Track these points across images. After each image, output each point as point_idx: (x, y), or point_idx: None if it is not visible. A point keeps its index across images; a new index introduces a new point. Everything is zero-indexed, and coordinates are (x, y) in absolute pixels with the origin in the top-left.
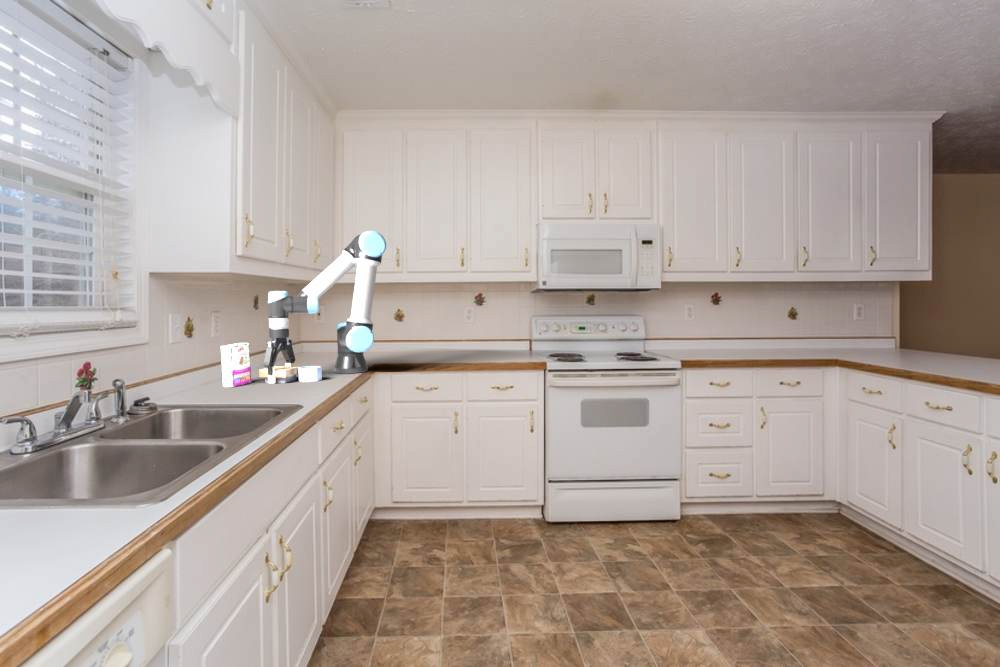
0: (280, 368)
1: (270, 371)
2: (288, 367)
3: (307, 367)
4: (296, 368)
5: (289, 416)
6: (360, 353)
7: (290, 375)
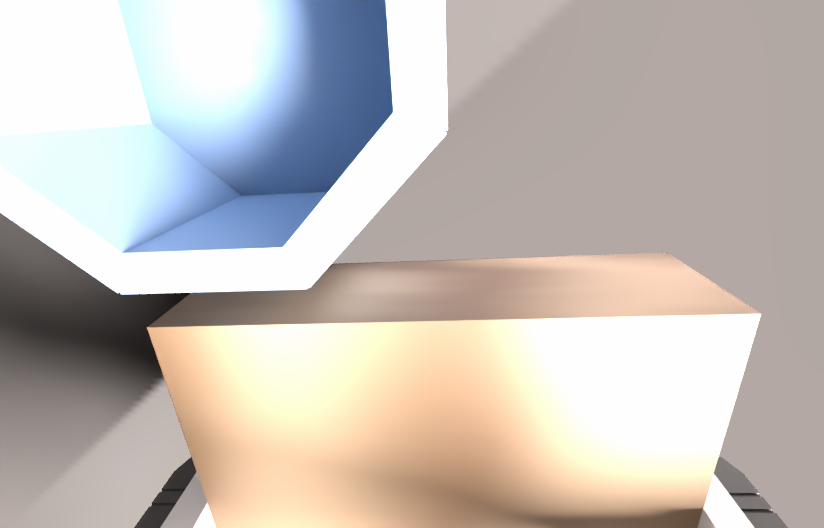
0: (491, 524)
1: (775, 519)
2: (338, 474)
3: (74, 195)
4: (327, 314)
5: None
6: None
7: (535, 262)
